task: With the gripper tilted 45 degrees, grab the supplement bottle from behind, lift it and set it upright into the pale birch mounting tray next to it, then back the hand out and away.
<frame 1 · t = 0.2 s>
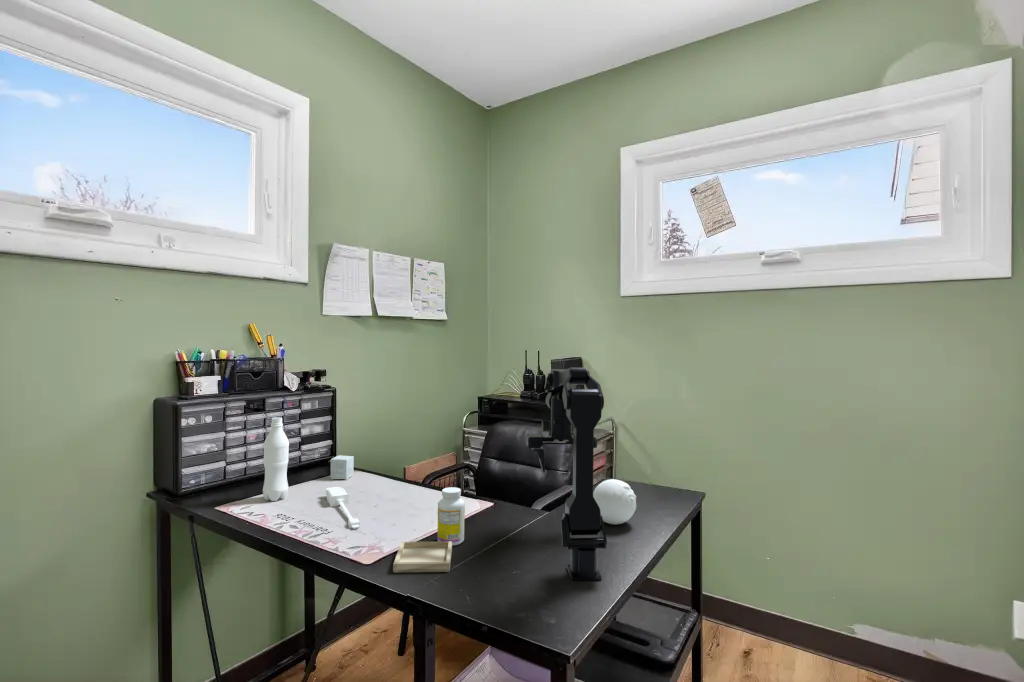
hand: (560, 472, 137), 15 cm above the table, tool pointing down, fingers open, 9 cm apart
water bottle: (275, 499, 155), on the table
decorative ball: (613, 523, 140), on the table
mounting tray: (424, 559, 114), on the table
supplement bottle: (450, 542, 125), on the table
product box: (342, 478, 180), on the table
white toy mallet: (342, 512, 146), on the table
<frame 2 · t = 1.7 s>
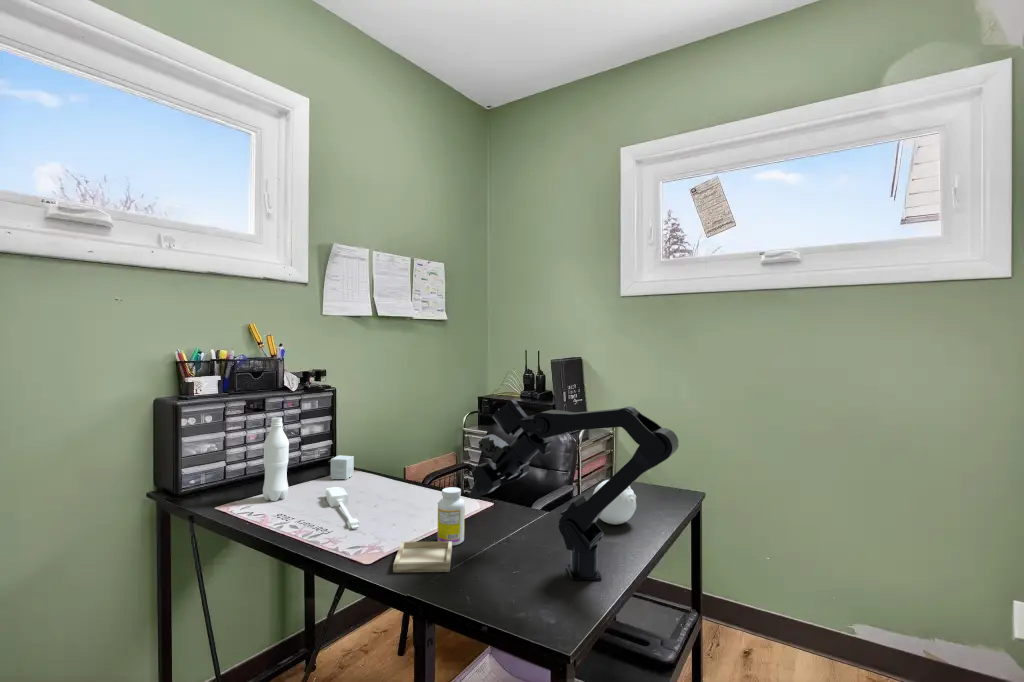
hand: (481, 492, 122), 13 cm above the table, tool tilted 45°, fingers open, 9 cm apart
nothing on the table moved.
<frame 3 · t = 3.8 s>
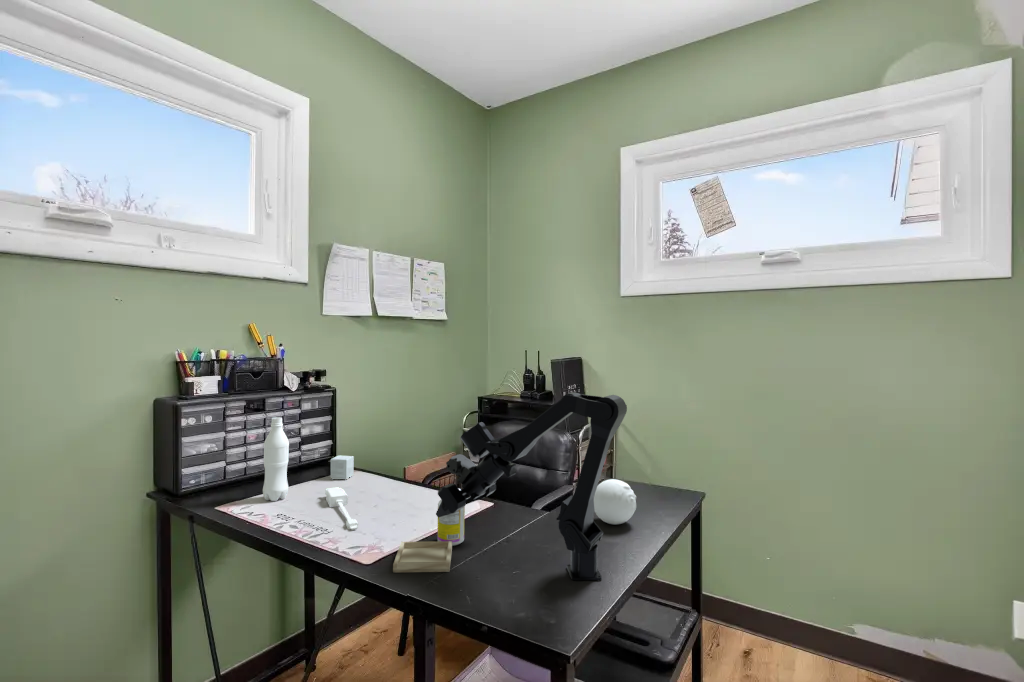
hand: (448, 510, 125), 8 cm above the table, tool tilted 45°, fingers open, 9 cm apart
nothing on the table moved.
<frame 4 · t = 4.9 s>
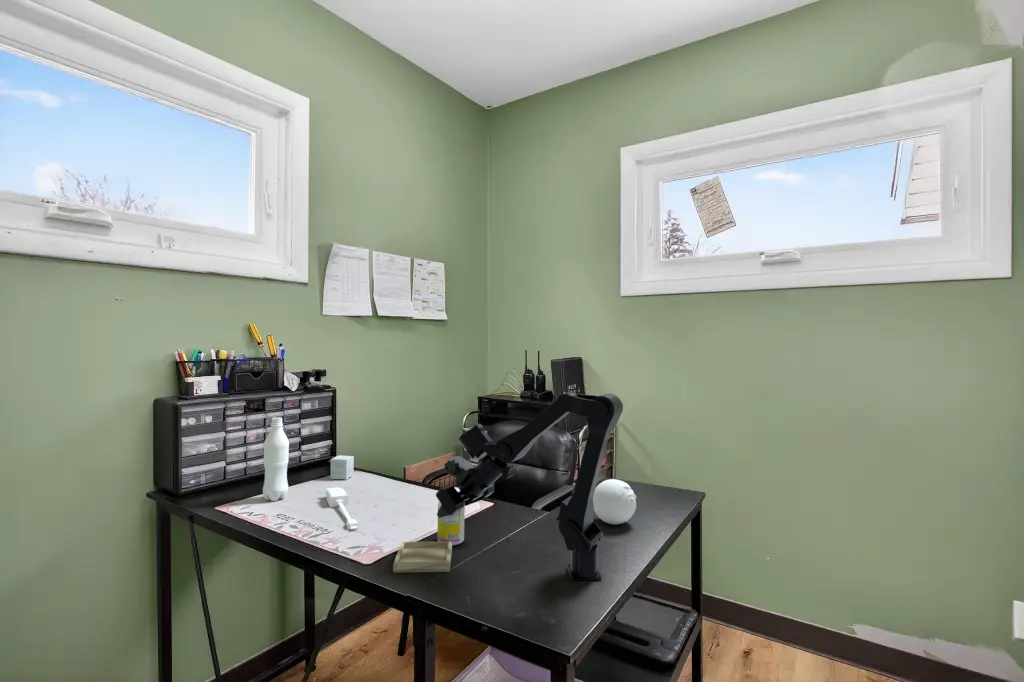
hand: (446, 511, 126), 7 cm above the table, tool tilted 45°, fingers closed on supplement bottle, 7 cm apart
supplement bottle: (450, 542, 125), on the table, touching gripper
everything else where it was.
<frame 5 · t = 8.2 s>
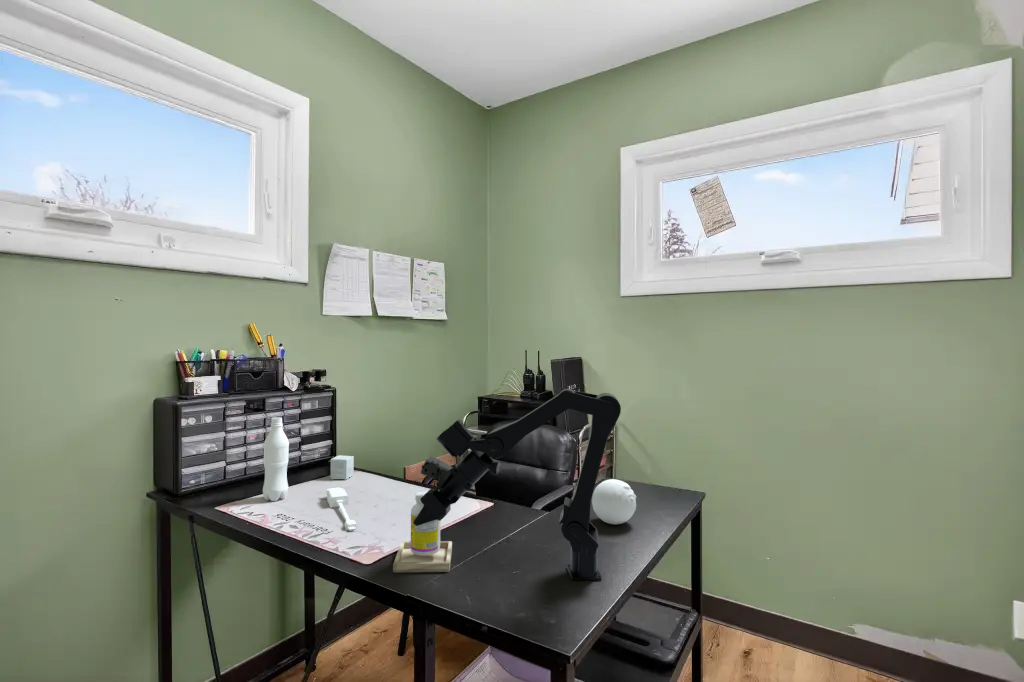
hand: (419, 518, 114), 9 cm above the table, tool tilted 45°, fingers closed on supplement bottle, 7 cm apart
supplement bottle: (425, 551, 114), point 2 cm above the table, touching gripper
when the fingers open (9 cm above the table, at t = 9.2 s): supplement bottle drops 1 cm, resting on mounting tray.
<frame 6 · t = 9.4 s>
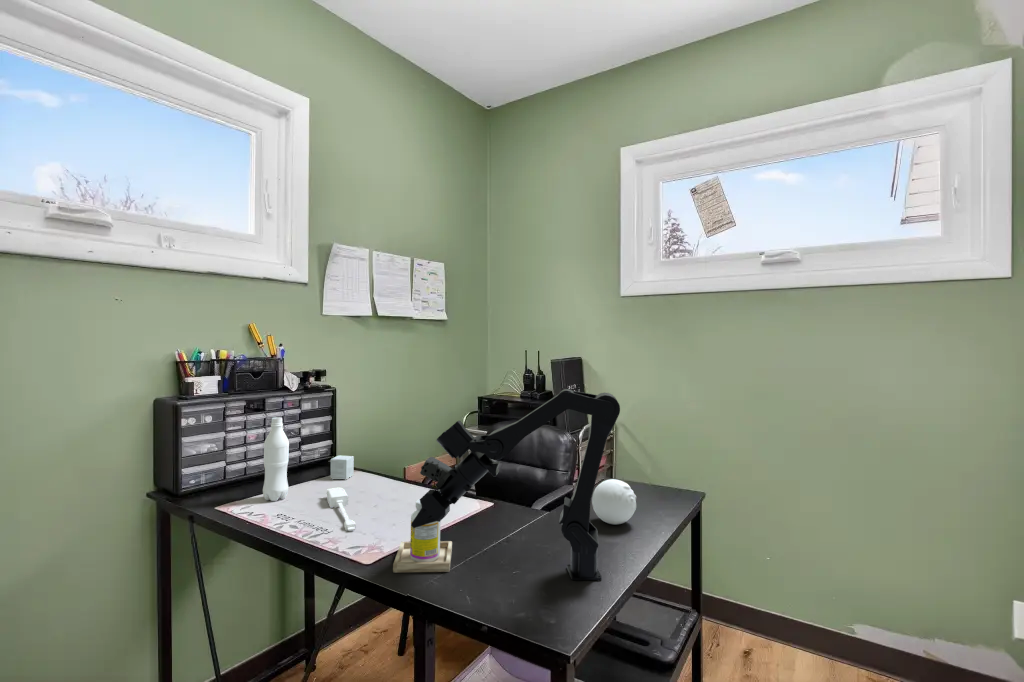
hand: (419, 519, 114), 9 cm above the table, tool tilted 45°, fingers open, 8 cm apart
supplement bottle: (424, 558, 114), resting on mounting tray
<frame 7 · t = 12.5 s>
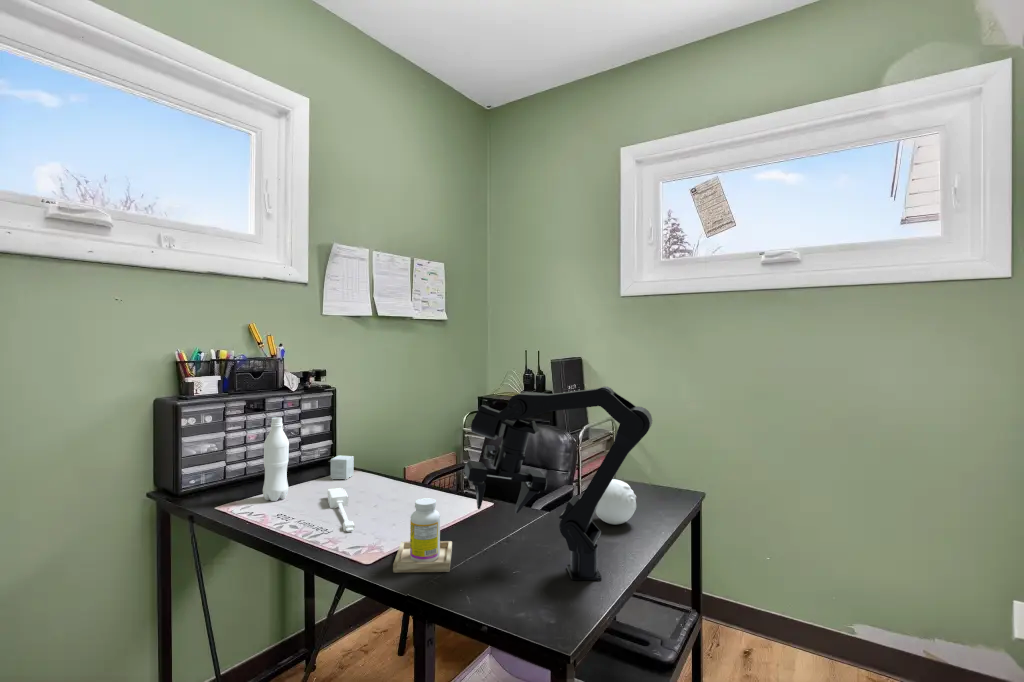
hand: (497, 510, 116), 11 cm above the table, tool pointing down, fingers open, 9 cm apart
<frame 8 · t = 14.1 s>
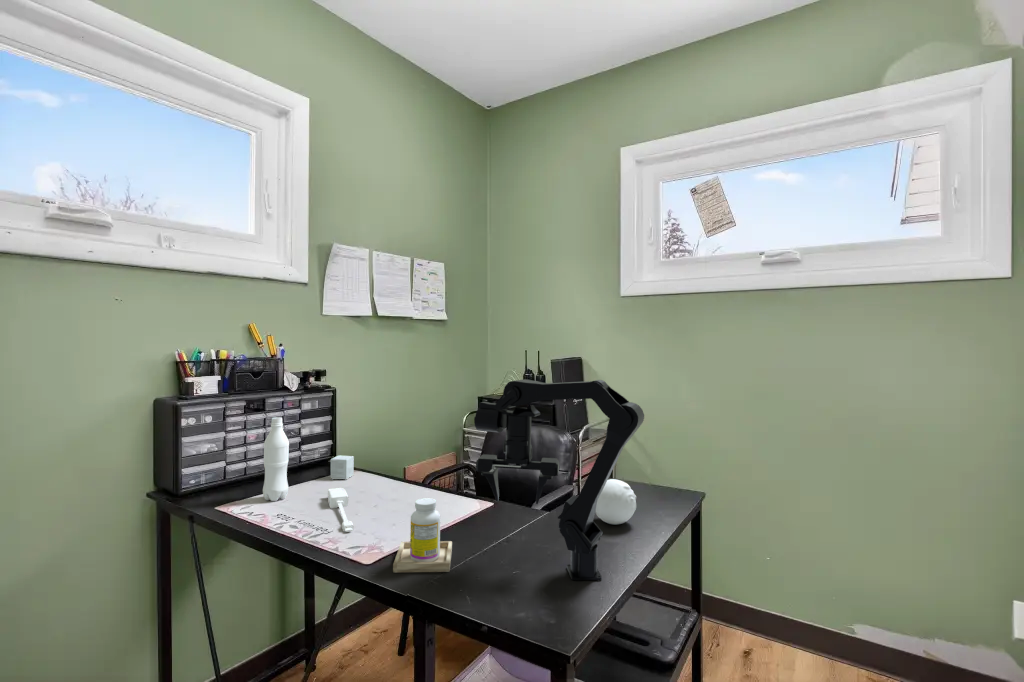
hand: (517, 502, 116), 13 cm above the table, tool pointing down, fingers open, 9 cm apart
at the end: supplement bottle 0.3 cm off-centre on the mounting tray, point 0.4 cm above the mounting tray's base; supplement bottle tilted 0°; the gripper is holding nothing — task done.
